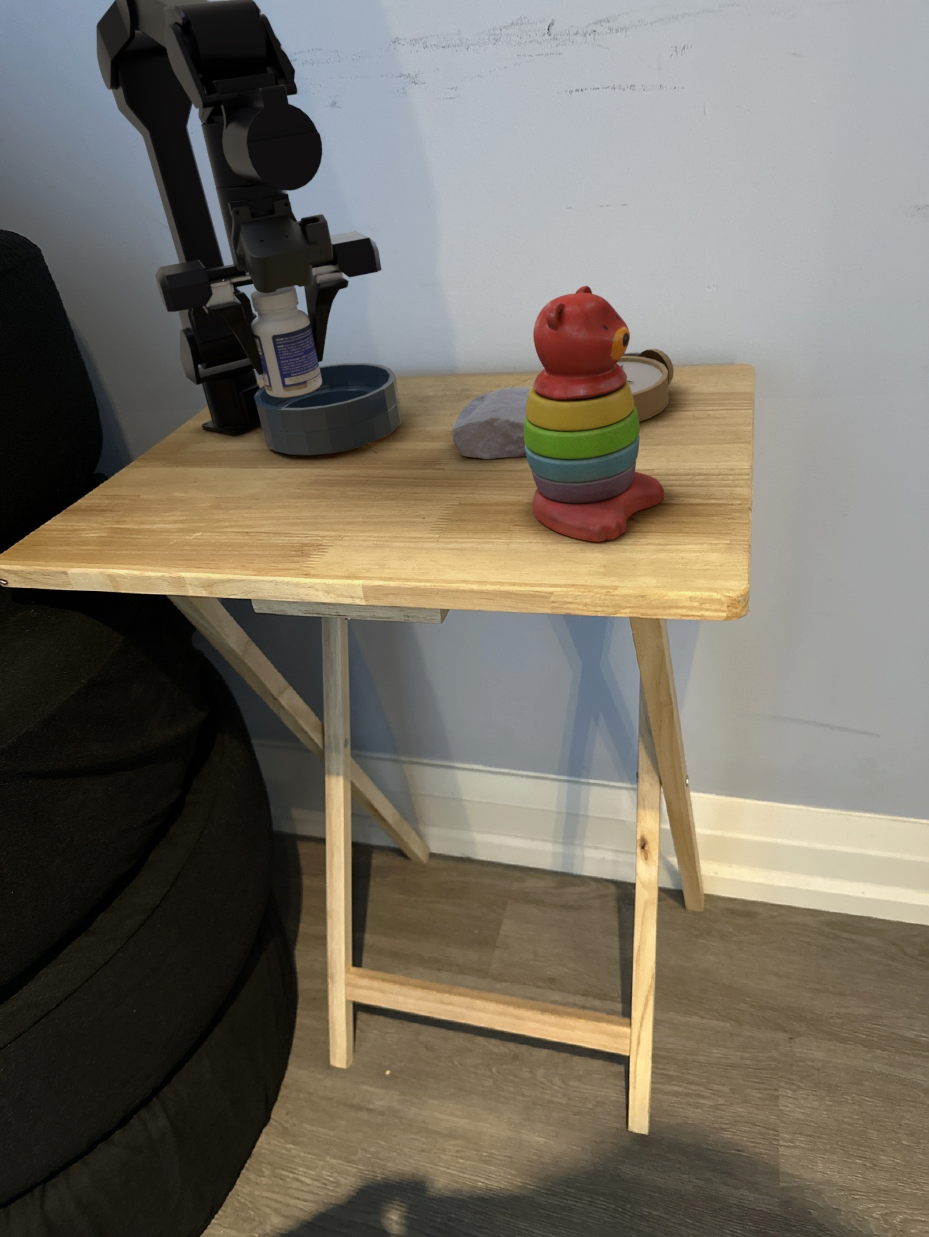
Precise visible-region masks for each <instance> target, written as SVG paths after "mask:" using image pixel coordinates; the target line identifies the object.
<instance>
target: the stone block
mask: <svg viewBox="0 0 929 1237" xmlns="http://www.w3.org/2000/svg"><path fill="white" fill-rule="evenodd" d="M530 389H531V387H525V386H518V387H517V386H516V387H515V386H513V387H503V388H500V389H496V390H495V391H492V392H486V393H485V392H484V393H483V394H481V395H477V396H475V397H474V398H471V399H470V400H469V401H468V404H467V405H465V406H464V407H463V408H462V410H461V411H460V413H459V415H458V417H457V419H456V422H454V424H453V427H452V432H451V434H452V441H453V443H454V446H455V448H456V449H457V451H458V453H460V454H461V456H463V457H469V458H476V459H481V460H493V459H503V458H520V457H527V456H526V452H525V442H524V422H525V417H526V406H527V399H528V394H529V391H530Z"/></svg>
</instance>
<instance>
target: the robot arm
mask: <svg viewBox="0 0 929 1237" xmlns="http://www.w3.org/2000/svg"><path fill="white" fill-rule="evenodd" d="M95 28H96V30H95V31H96V32H95V33H96V59H97V64H98V68H99V71H100V74H101V77H102V80H103V83H104V85H105V87H106V88H107V90H109V91H110V90H111V92H112V96H113V98H114V100H115V103H116V106H117V109H118V111H119V112H120V113H121V115H122V116H123V117H124V118H125V119H126V120H127V121H128V122H129V123H130V124H131V125H132V126H133V127H134V128H135V130H136V131H137V132H138V133H139V135H141V136H142V139H143V142H144V145H145V148H146V152H147V155H148V160H149V161H150V166H151V170H152V173H153V176H154V180H155V183H156V187H157V191H158V193H159V198H160V201H161V205H162V207H163V211H164V214H165V218H166V221H167V224H168V229H169V231H170V235H171V237H172V243H173V245H174V249H175V254H176V256H177V259H178V263H174V264H168V265H162V266H159V267H158V269H157V271H156V273H155V275H154V277H155V281H156V284H157V289H158V292H159V296H160V299H161V302H162V303H163V305H164V307H165V310H166V312H167V313H176V312H178V316H179V320H180V324H181V328H182V329H180V330H179V360H180V364H181V366H182V368H183V371H184V375H185V377H186V378H187V379H188V380H189V381H190V382H192V383H193V384H194V385H196V386H198V385H202V389H203V390H202V391H203V394H204V397H205V400H206V403H207V404H206V405H207V407H208V412H209V416H210V420H209V421H206V422H204V423H202V424H201V428H202V430H207V431H213V432H217V433H223V434H227V435H230V436H237V435H240V434H243V433H245V432H246V431H249V430H251V429H253V428H255V427H258V426H261V423H260V419H259V415H258V411H257V407H256V402H255V398H254V395H255V394H256V393H257V391H258V390H259V389H260V388H261V387H260V384H259V383H258V379H257V375H258V376H262V374H263V371H262V366H261V362H260V358H259V355H258V352H257V349H256V347H255V343H254V339H253V335H252V330H251V324H252V322H253V321H254V319H255V318H257V317H258V315H257V314H256V312H253V311H254V310H253V306H252V301H251V298H249V297H248V295H247V294H246V293H245V292H244V291H241V290H240V287H245V286H246V287H247V286H250V285H253V287H254V289H255V291H259V292H261V293H272V292H275V291H276V290H277V289H280V288H285V287H290V286H294V287H296V286H297V287H299V288H302V287H303V288H304V289H303V290H304V297H305V304H306V311H307V315H308V317H309V320H310V324H311V329H312V334H313V339H314V344H315V349H316V354H317V358H318V363H321V362H323V361H324V352H325V347H326V346H325V345H326V339H327V332H328V331H327V330H328V323H329V318H330V313H331V310H332V306H333V304H334V300H335V298H336V296H337V295H338V293H339V291H340V290H344V289H347V288H348V287H349V280H348V279H346V278H345V277H344V275H345V276H346V277H347V278H349V279H350V278H355V277H359V276H364V275H369V274H375V273H379V272H381V271H382V264H381V258H380V251H379V248H378V245H377V243H376V241H374V239H372V238H371V237H369V236H367V235H365V234H364V233H361V232H359V231H358V230H353V231H348V232H342V233H337V234H336V233H335V234H332V235H330V234H331V233H330V229H329V222H328V220H327V219H326V217H325V215H324V214H322V213H321V214H314V215H309V216H303V217H301V218H300V220H297V218H296V216H295V214H294V212H293V209H292V203H291V201H290V196H289V193H288V191H290V192H291V191H296V190H299V189H301V188H303V187H306V185H308V184H309V183H310V182H311V181H312V180H313V179H314V178H315V176H316V175H317V173H318V171H319V168H320V166H321V164H322V158H323V141H322V138H321V134H320V132H319V131H318V129H317V127H316V124H315V122H314V121H313V119H311V118H310V116H309V115H308V114H307V113H306V112H305V111H303V109H301V108H299V107H297V106H295V105H293V104H291V103H289V97H288V96H296V95H298V87H297V84H296V81H295V77H296V76H295V75H296V70H295V68H294V66H293V64H292V62H291V60H290V58H289V56H288V55H287V52H286V51H285V49H284V46H283V45H282V43H281V40H279V38H278V35H277V33H276V32H275V30H274V29H273V27H272V24H271V21H270V20H269V18H268V16H267V15H266V14H265V13H262V10H261V8H260V6H259V5H258V4H257V2H256V1H254V0H114V1H113V2H112V3H111V5H110V6H109V7H108V9H107V10H106V11H105V13H104V14H103V15H102V17H100V19H99V20H98V22H97V23H96V27H95ZM193 106H194V109H197V110H198V113H197V114H198V118H199V121H200V127H201V131H202V135H203V139H204V143H205V148H206V152H207V157H208V161H209V164H210V168H211V173H212V178H213V182H214V186H215V191H216V196H217V200H218V204H219V208H220V212H221V217H222V221H223V226H224V230H225V234H226V237H227V239H226V240H227V242H228V246H229V251H230V256H231V260H232V263H231V264H228V265H225V263H224V259H223V256H222V252H221V248H220V245H219V240H218V237H217V233H216V230H215V226H214V222H213V218H212V214H211V211H210V207H209V203H208V200H207V197H206V196H207V195H206V192H205V189H204V185H203V181H202V176H201V173H200V169H199V166H198V162H197V158H196V156H195V152H194V148H193V144H192V140H191V136H190V132H189V129H188V124H189V120H190V117H191V116H190V115H191V112H192V107H193ZM199 366H200V367H199ZM256 373H257V375H256Z"/></svg>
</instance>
